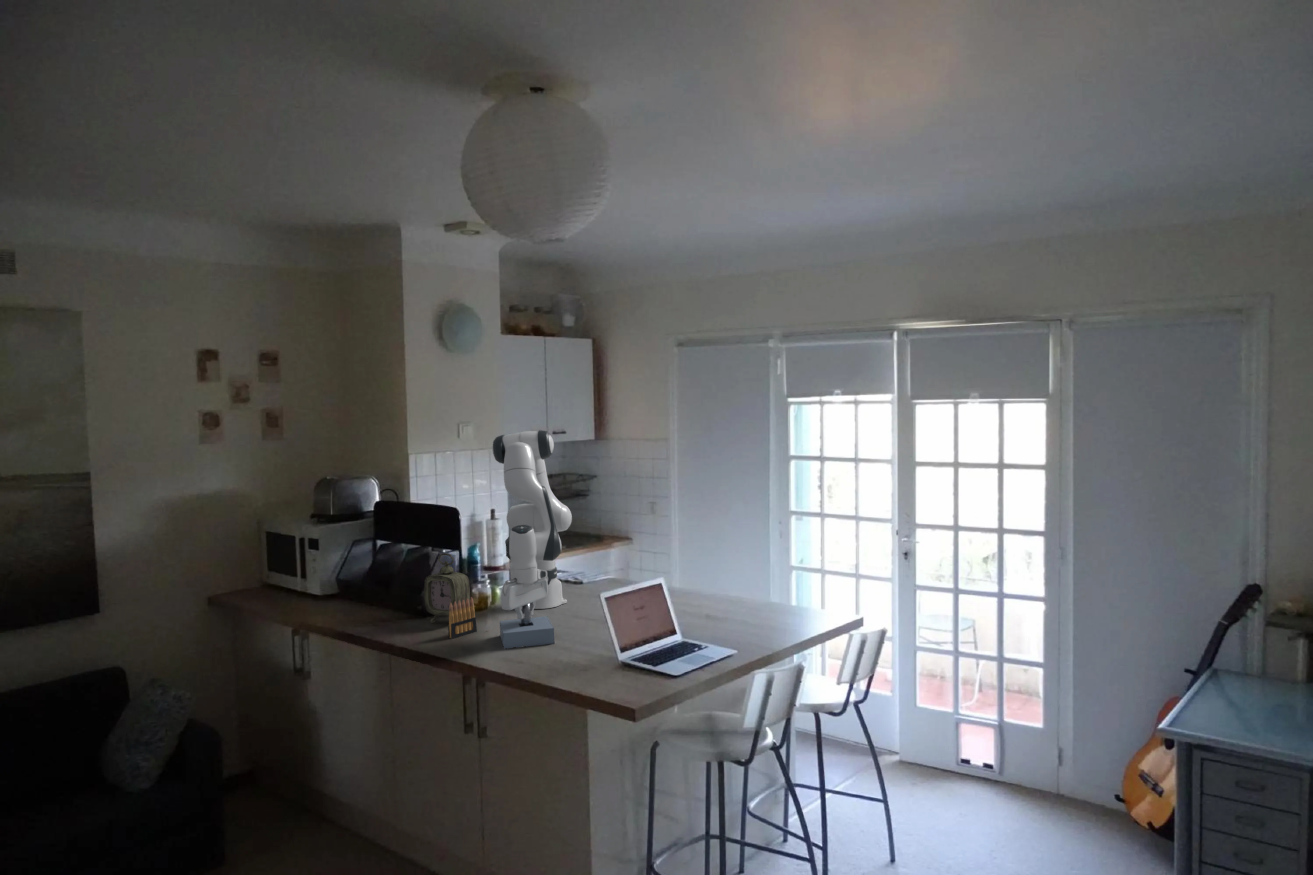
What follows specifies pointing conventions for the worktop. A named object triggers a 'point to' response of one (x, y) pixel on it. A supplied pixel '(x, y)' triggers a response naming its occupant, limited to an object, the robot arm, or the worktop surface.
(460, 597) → the tabletop clock
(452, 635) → the ammunition clip
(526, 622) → the steel pin
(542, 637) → the bore block
